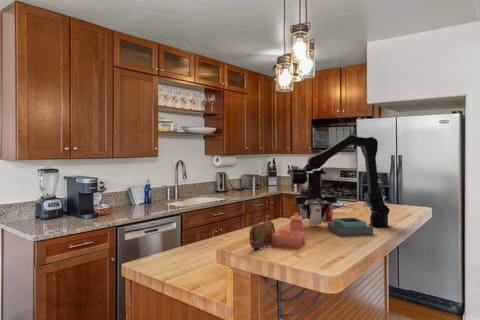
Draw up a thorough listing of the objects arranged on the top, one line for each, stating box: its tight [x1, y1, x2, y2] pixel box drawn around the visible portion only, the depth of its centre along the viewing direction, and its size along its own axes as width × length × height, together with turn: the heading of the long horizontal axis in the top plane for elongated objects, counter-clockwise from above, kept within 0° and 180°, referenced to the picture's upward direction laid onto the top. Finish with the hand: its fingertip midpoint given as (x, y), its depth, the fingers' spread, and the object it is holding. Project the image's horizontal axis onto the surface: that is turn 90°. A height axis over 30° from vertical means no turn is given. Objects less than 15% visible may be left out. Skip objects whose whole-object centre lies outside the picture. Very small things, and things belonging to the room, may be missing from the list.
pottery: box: [271, 212, 306, 250], centre depth 124 cm, size 18×10×10 cm, turn 154°
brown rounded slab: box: [249, 220, 276, 250], centre depth 119 cm, size 15×3×8 cm, turn 148°
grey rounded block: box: [308, 204, 322, 226], centre depth 148 cm, size 6×7×8 cm
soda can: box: [317, 194, 334, 222], centre depth 164 cm, size 7×7×12 cm
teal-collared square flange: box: [327, 217, 374, 237], centre depth 138 cm, size 14×12×5 cm
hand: (315, 218), depth 149 cm, fingers closed on grey rounded block, 5 cm apart
